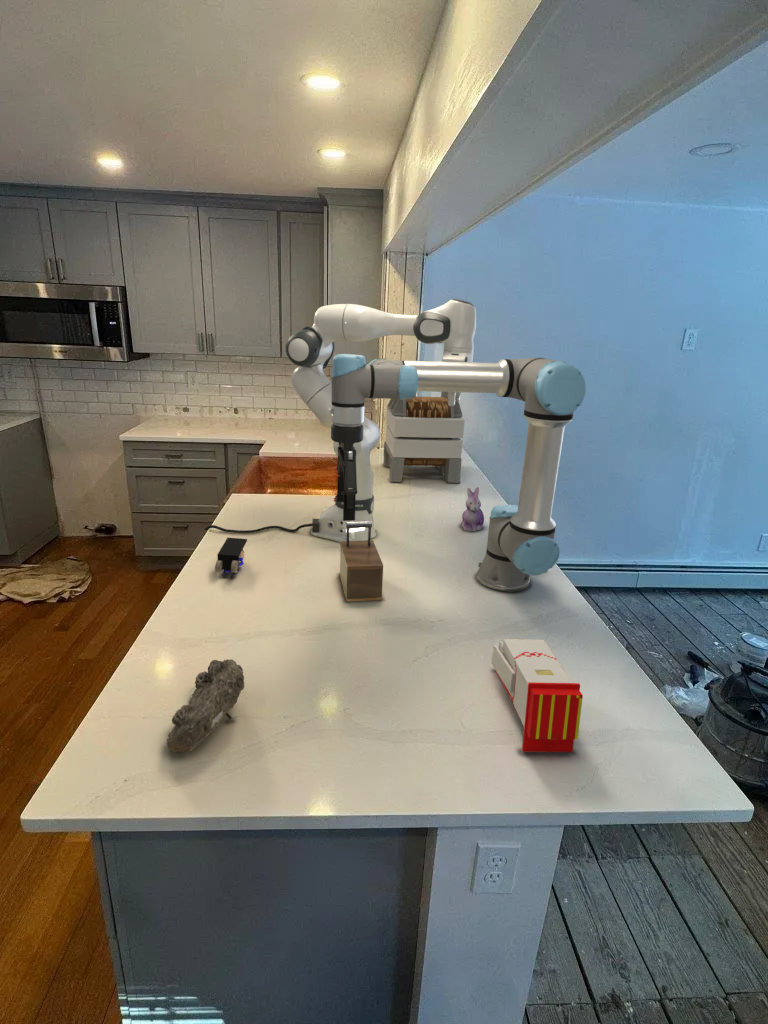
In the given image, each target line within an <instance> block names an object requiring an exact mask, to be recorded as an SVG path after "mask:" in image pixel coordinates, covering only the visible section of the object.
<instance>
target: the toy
mask: <svg viewBox="0 0 768 1024" xmlns="http://www.w3.org/2000/svg"><path fill="white" fill-rule="evenodd" d="M491 665H492V667H493V668H494V671H495V673H496V674H497V677H498V678H499V680H500V682H501V684H502V686H503V687H504V689H505V691H506V693H507V695H508V696H509V699H510V700H511V702H512V703H513V706H514V708H515V711H516V713H517V715H518V717H519V719H520V722H521V723H522V726H523V737H522V747H521V751H522V752H523V753H524V752H525V753H527V752H528V753H532V752H533V753H534V752H535V753H573V752H574V744H575V740H578V739H579V732H580V724H581V723H580V722H581V714H582V705H583V696H584V694H583V693H582V692H581V684H580V683H579V682H574V681H573V679H572V677H570V675H569V674H568V673H567V671H566V670H565V668H564V667H563V665H562V664H561V662H560V661H559V659H557V657H556V656H555V654H554V652H553V651H552V649H551V648H550V646H549V645H548V644H547V643H546V641H545V640H544V639H522V638H521V639H517V638H503V640H499V642H498V646H497V644H494V645H493V649H492V656H491Z"/></svg>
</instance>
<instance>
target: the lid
mask: <svg viewBox="0 0 768 1024" xmlns="http://www.w3.org/2000/svg"><path fill="white" fill-rule="evenodd" d="M346 528H347V538H346V541H341V542H339V545H340V547H341V549H342V553H343V556H344V560H345V564H346V567H347V570H366V569H383V570H384V563H383V561H382V558H381V556H380V554H379V551H378V549H377V546H376V544H375V542H374V540H373V539H371V528H372V521H346ZM349 528H368V540H365V541H349Z"/></svg>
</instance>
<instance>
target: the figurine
mask: <svg viewBox="0 0 768 1024" xmlns="http://www.w3.org/2000/svg"><path fill="white" fill-rule="evenodd" d="M466 491H467V493H466V494H467V499H466V501H465V507H466V509H465V510H464V511H463V513H462V516H461V517H462V518H461V519H462V520H461V527H462V528H463V530H464V531H469V532H475V531H480V530H481V529H482V528H484V523H485V515H484V512H483V510H482V509H481V507H482V502H481V499H480V497H479V494H480V488H479V487H478V486H477V487H476V488H475V489H474V490H473V491H472V490H471V488H469V487H468V488H467V489H466Z"/></svg>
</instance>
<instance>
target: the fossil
mask: <svg viewBox="0 0 768 1024" xmlns="http://www.w3.org/2000/svg"><path fill="white" fill-rule="evenodd" d="M243 670H244V669H243V667H242V665H240V664H237V662H236V661H235V660H234V659H232V658H231V659H227V658H226V659H224V660H223V661H222V660H217V659H212V660H211V661H210V663H209V665H208V666H207V671H201V672H199V673H198V674H197V675H196V676H195V680H194V684H195V685H194V687H195V689H194V690H193V693H192V694H191V697H190V698H189V700H188V704H184V705H182V706H181V707H180V709H177V710H176V711H175V713H174V715H173V716H172V718H171V723H172V724H173V727H172V730H171V731H170V732H168V734H167V738H166V741H167V742H166V745H167V749H168V750H169V751H173V752H174V753H176V754H178V753H182V752H188V751H189V752H192V751H193V750H195V748H196V747H197V746H199V744H200V743H201V742H203V741H204V740H205V739H206V738H207V737H208V736H209V735H210V734H211V733H212V732H214V730H215V729H217V727H218V726H219V724H220V722H221V721H222V720H223V719H224V718H225V716H226V717H227V719H229V720H233V717H232V715H230V714H229V710H230V709H231V708H234V706H235V704H236V703H237V702H238V699H239V697H240V695H241V693H242V691H243V690H245V689H244V688H245V675H244V671H243Z"/></svg>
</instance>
